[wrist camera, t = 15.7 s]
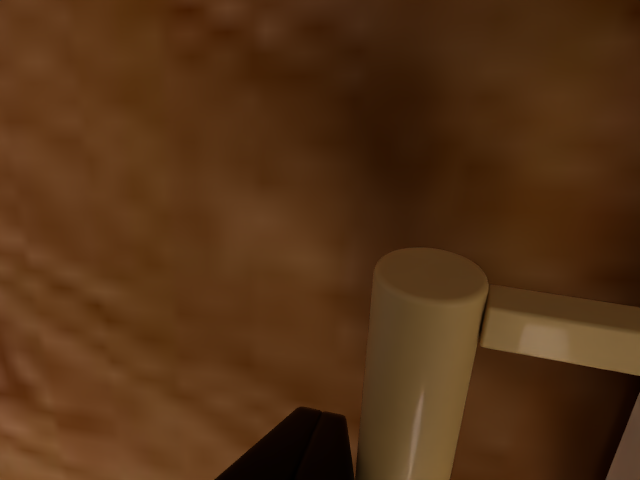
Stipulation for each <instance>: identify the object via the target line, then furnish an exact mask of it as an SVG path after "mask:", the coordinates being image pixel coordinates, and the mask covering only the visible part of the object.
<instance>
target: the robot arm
mask: <svg viewBox="0 0 640 480" xmlns="http://www.w3.org/2000/svg"><path fill="white" fill-rule="evenodd" d="M215 480H355V479H354V472H353V465H352V457H351V450H350V443H349V435H348V428H347V421H346V418H345V416H343V415H340V414H335V413H330V412H325V411H324V412H321V411H320V410H316V409H312V408H307V407H298V408H297V409H295V410H294V411H293V412H292V413H291V414H290V415H289V416H287V417H286V418H285V419H284V420H283V421H282V422H280V423H279V424H278V425H277V426H276V427H275V428H274V429H272V430H271V431H270V432H269V433H268V434H267V435H265V436H264V437H263V438H262V439H261V440H260V441H259V442H257V443H256V444H255V445H254V446H253V447H252V448H250V449H249V450H248V451H247V452H246V453H245V454H244V455H242V456H241V457H240V458H239V459H238V460H237V461H235V462H234V463H233V464H232V465H231V466H230V467H228V468H227V469H226V470H225V471H224V472H223V473H222V474H220V475H219V476H218V477H217V478H216V479H215Z"/></svg>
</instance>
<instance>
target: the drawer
mask: <svg viewBox="0 0 640 480" xmlns="http://www.w3.org/2000/svg"><path fill="white" fill-rule="evenodd" d="M479 333H480V345H481V346H482V347H484V348H489V349H495V350H500V351H506V352H511V353H517V354H522V355H528V356H534V357H539V358H545V359H550V360H556V361H561V362H567V363H572V364H578V365H583V366H589V367H594V368H600V369H606V370H611V371H617V372H622V373H628V374H633V375H639V376H640V307H634V306H628V305H621V304H615V303H608V302H602V301H596V300H589V299H583V298H576V297H570V296H564V295H557V294H551V293H544V292H538V291H531V290H525V289H519V288H512V287H506V286H499V285H493V284H488V280H487V277H486V274H485V273H484V271H483V270H482V269H481V268H480V267H479V266H478V265H477V264H475V263H474V262H472V261H471V260H469V259H467V258H465V257H463V256H461V255H458V254H456V253H452V252H449V251H445V250H441V249H435V248H425V247H412V248H403V249H399V250H395V251H392V252H390V253H387V254H386V255H384V256H383V257H382V258H381V259H380V260H379V261H378V263H377V264H376V266H375V268H374V273H373V285H372V296H371V307H370V318H369V329H368V340H367V351H366V363H365V374H364V385H363V396H362V407H361V418H360V429H359V441H358V452H357V463H356V474H355V480H450V476H451V471H452V466H453V461H454V456H455V451H456V446H457V441H458V436H459V432H460V427H461V422H462V417H463V412H464V407H465V402H466V397H467V392H468V387H469V382H470V377H471V373H472V368H473V363H474V358H475V353H476V348H477V343H478V338H479ZM606 480H640V393H639V395H638V398H637V400H636V403H635V406H634V408H633V411H632V413H631V416H630V418H629V421H628V423H627V426H626V429H625V431H624V434H623V436H622V439H621V441H620V444H619V446H618V449H617V452H616V454H615V457H614V459H613V462H612V464H611V467H610V469H609V472H608V475H607V477H606Z"/></svg>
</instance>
